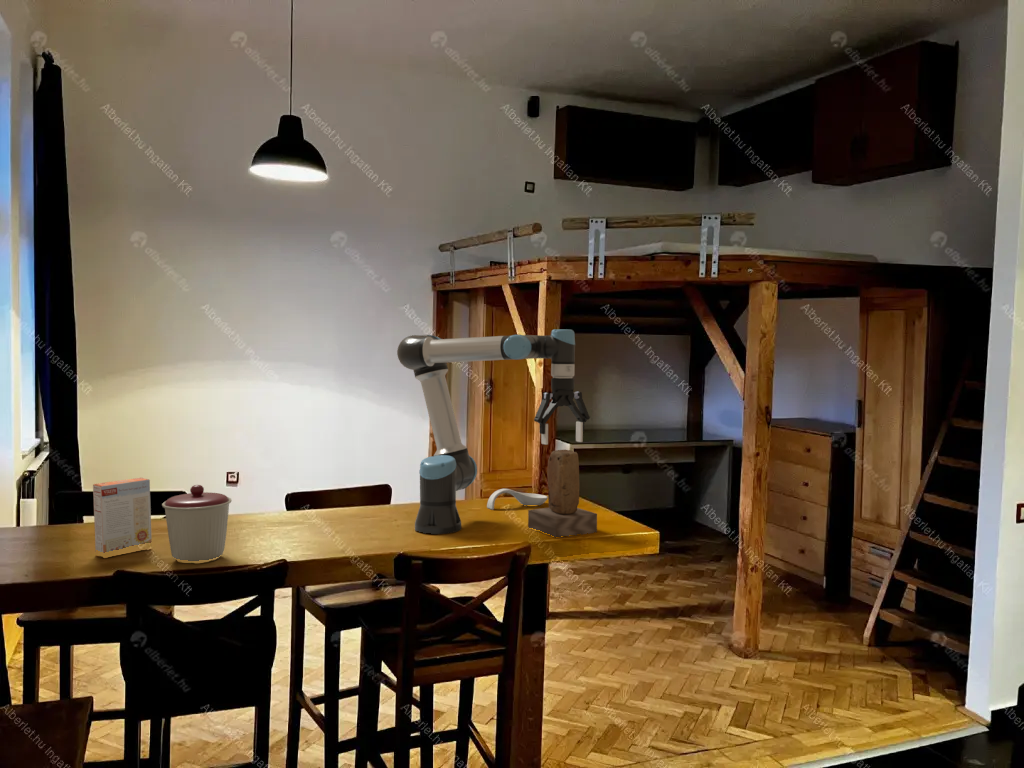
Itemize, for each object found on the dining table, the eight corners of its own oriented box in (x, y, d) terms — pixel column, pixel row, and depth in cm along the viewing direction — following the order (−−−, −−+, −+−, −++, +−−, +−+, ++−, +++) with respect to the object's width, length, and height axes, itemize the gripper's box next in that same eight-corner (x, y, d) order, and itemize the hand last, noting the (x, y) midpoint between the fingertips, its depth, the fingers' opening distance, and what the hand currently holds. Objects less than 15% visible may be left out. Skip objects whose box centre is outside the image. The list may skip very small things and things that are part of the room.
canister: (226, 548, 239) (225, 477, 238) (237, 563, 223) (236, 487, 222) (160, 556, 230) (158, 482, 229) (166, 572, 214) (165, 493, 213)
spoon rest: (537, 501, 312) (538, 483, 312) (553, 506, 302) (553, 487, 302) (482, 507, 301) (482, 488, 301) (496, 513, 291) (496, 493, 291)
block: (581, 513, 260) (581, 451, 259) (561, 516, 256) (561, 453, 255) (563, 507, 269) (564, 448, 268) (544, 509, 266) (544, 449, 265)
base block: (555, 538, 252) (556, 519, 252) (528, 528, 266) (528, 510, 265) (596, 532, 260) (597, 513, 260) (568, 522, 274) (568, 505, 274)
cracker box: (142, 546, 241) (141, 476, 240) (152, 549, 237) (151, 478, 236) (94, 555, 230) (92, 483, 229) (103, 559, 226) (101, 485, 225)
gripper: (536, 378, 251) (536, 446, 252) (600, 377, 264) (599, 441, 265) (523, 377, 257) (523, 443, 258) (587, 376, 270) (586, 439, 271)
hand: (562, 442), depth 262 cm, fingers open, 13 cm apart
